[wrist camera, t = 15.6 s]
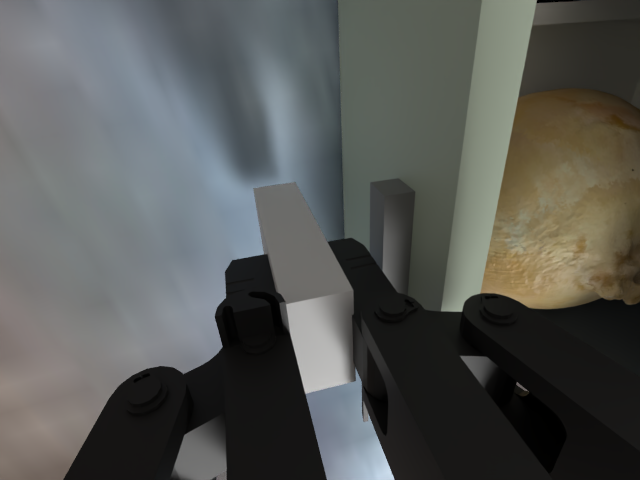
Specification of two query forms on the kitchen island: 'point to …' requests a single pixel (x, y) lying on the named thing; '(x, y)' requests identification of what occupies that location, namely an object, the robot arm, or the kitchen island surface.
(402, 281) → the drawer
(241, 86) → the kitchen island surface
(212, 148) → the kitchen island surface
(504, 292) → the onion
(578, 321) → the box
